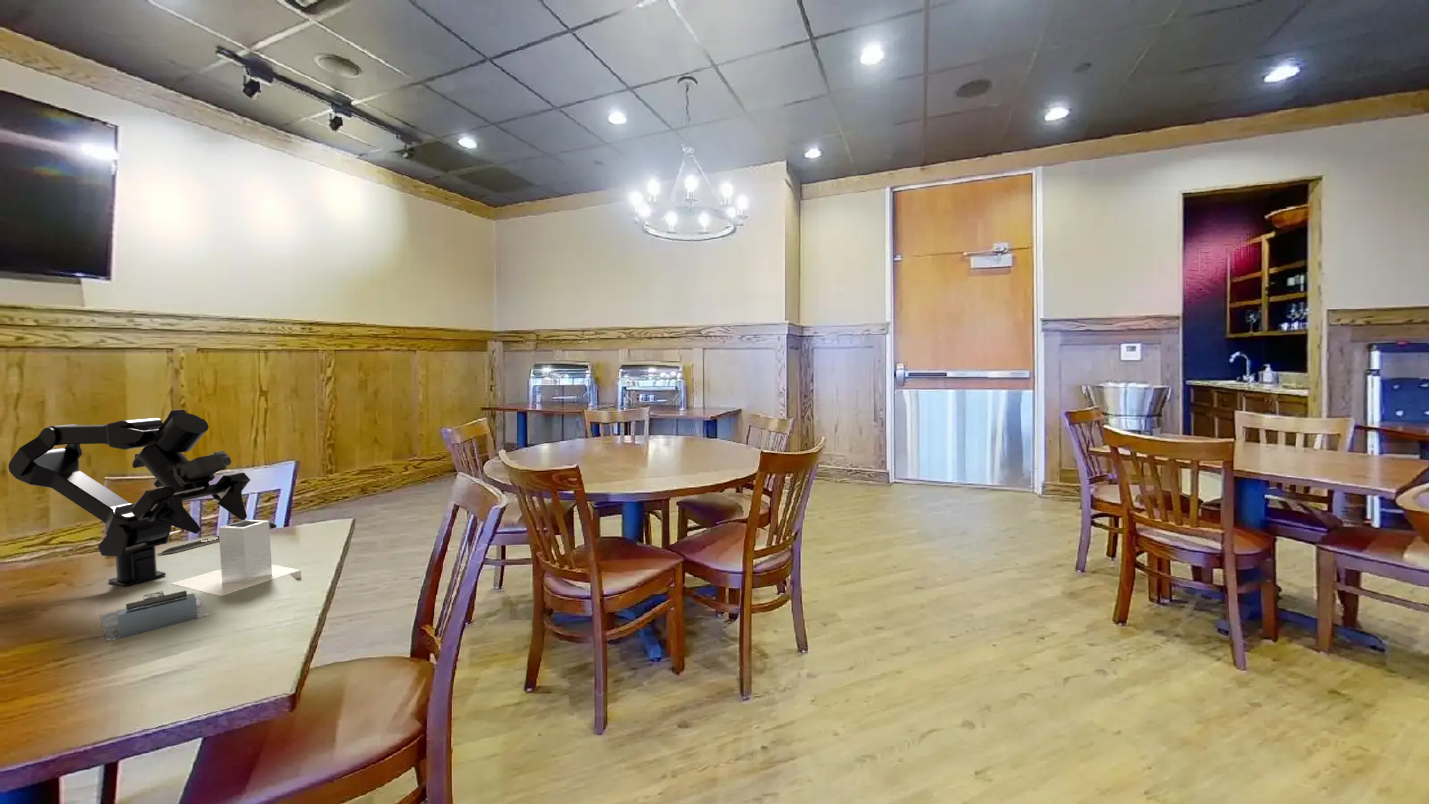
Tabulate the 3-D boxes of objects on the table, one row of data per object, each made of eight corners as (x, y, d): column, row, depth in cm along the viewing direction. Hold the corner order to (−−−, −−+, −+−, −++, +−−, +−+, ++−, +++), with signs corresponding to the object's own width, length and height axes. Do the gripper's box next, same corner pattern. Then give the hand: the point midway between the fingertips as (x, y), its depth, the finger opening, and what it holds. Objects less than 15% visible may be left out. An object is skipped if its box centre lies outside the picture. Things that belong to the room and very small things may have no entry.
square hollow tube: (222, 583, 110) (218, 527, 110) (248, 572, 116) (245, 519, 115) (246, 584, 110) (243, 528, 109) (272, 574, 115) (269, 520, 114)
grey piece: (101, 623, 96) (98, 588, 96) (196, 601, 106) (194, 569, 105) (106, 651, 87) (103, 612, 87) (210, 623, 96) (207, 588, 96)
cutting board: (171, 591, 110) (170, 583, 110) (252, 566, 123) (251, 560, 123) (221, 603, 104) (221, 595, 104) (301, 577, 117) (300, 570, 117)
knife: (160, 559, 130) (159, 553, 130) (145, 555, 133) (145, 549, 132) (281, 529, 153) (281, 523, 153) (266, 526, 156) (266, 521, 156)
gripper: (140, 447, 103) (197, 510, 102) (240, 434, 121) (288, 487, 121) (107, 488, 105) (162, 550, 104) (210, 469, 123) (257, 522, 122)
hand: (222, 525), depth 113 cm, fingers open, 9 cm apart
